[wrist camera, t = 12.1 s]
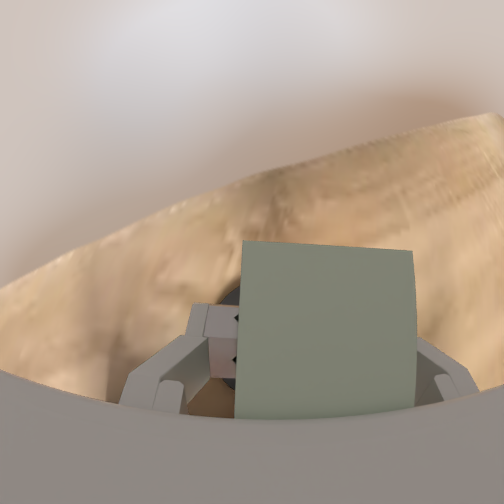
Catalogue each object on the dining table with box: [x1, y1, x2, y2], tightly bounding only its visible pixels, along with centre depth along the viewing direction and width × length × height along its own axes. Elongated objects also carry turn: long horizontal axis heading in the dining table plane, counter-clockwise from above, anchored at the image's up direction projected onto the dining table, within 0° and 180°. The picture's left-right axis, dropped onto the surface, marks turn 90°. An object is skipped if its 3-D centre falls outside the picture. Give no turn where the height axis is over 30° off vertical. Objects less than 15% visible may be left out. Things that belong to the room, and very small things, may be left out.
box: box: [234, 240, 417, 420], centre depth 10 cm, size 4×4×9 cm
